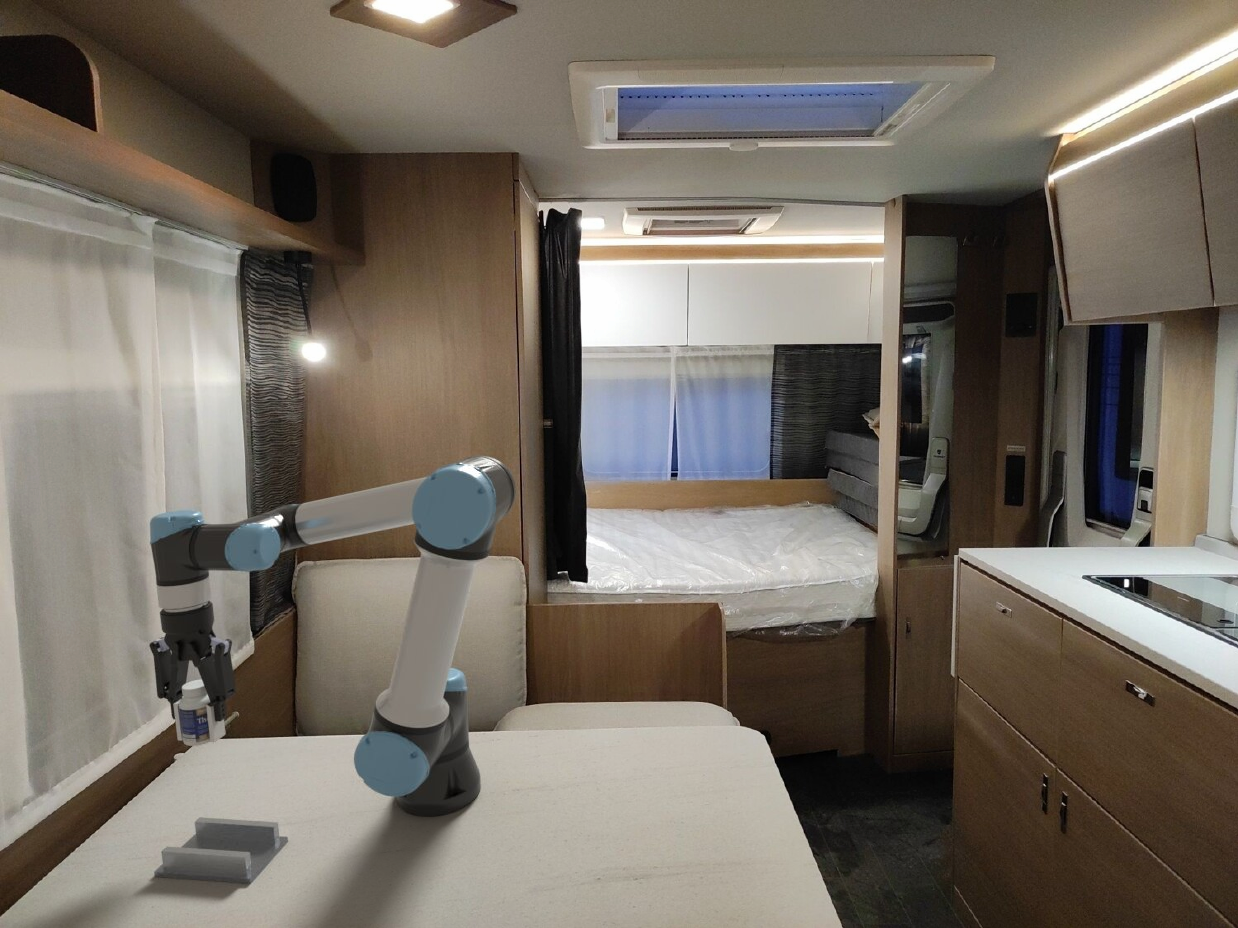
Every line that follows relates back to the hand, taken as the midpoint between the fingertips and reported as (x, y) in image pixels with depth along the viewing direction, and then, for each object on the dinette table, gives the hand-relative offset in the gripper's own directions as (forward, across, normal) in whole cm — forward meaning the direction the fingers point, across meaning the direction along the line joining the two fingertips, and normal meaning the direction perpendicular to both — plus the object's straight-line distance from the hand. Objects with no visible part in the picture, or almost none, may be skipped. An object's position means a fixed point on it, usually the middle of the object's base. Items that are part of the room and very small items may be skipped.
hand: (201, 736), depth 122 cm
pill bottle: (+1, 0, 0) cm, 1 cm away
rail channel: (+16, -8, +7) cm, 19 cm away
